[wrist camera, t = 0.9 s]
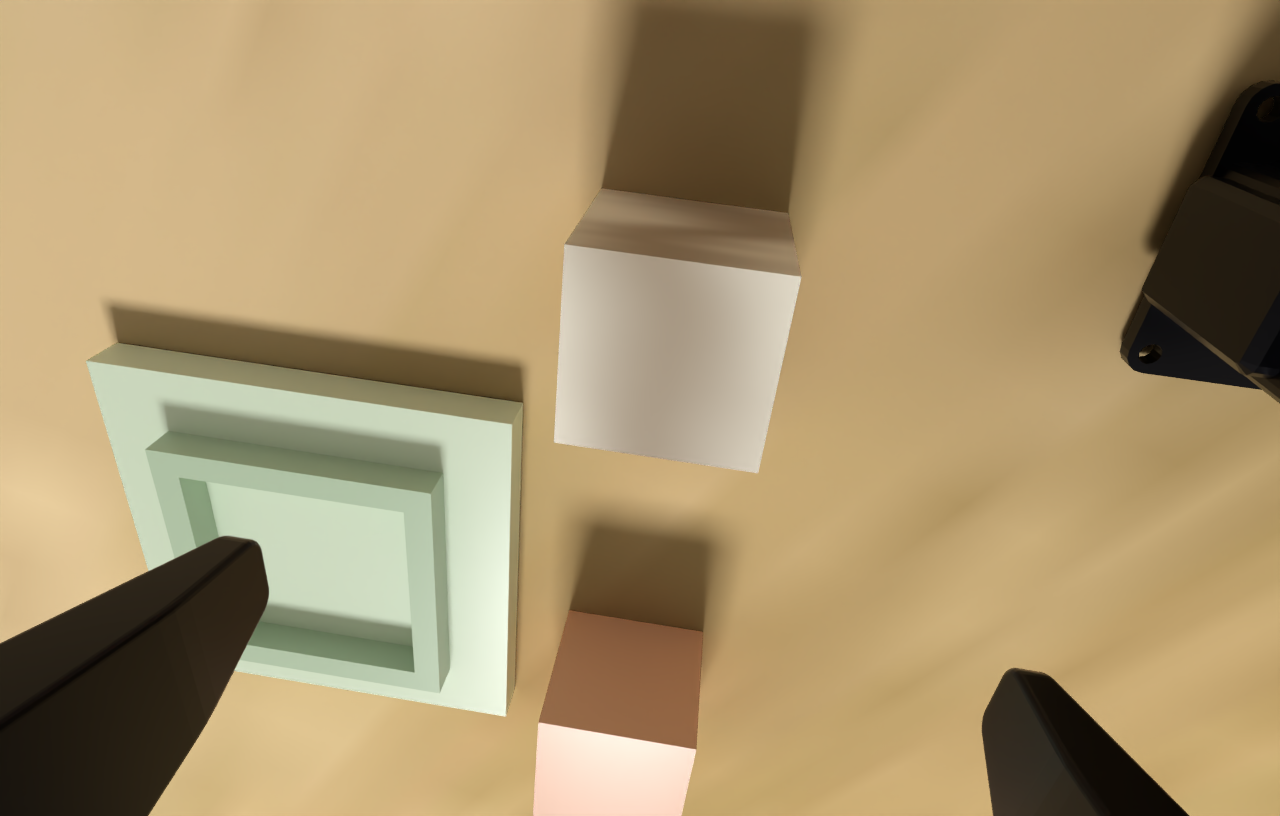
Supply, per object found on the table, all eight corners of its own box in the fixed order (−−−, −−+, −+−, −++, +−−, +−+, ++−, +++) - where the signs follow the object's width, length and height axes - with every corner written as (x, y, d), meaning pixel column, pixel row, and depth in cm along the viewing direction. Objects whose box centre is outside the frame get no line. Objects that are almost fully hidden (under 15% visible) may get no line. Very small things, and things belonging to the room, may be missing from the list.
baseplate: (523, 403, 21) (501, 444, 19) (514, 688, 27) (497, 741, 25) (117, 342, 22) (57, 377, 20) (196, 635, 28) (157, 683, 26)
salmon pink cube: (703, 630, 25) (696, 749, 21) (685, 719, 27) (675, 841, 23) (569, 608, 25) (538, 722, 21) (562, 697, 27) (533, 816, 24)
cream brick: (788, 212, 18) (801, 276, 14) (754, 378, 20) (758, 473, 16) (602, 187, 18) (564, 243, 14) (589, 354, 20) (553, 442, 17)
